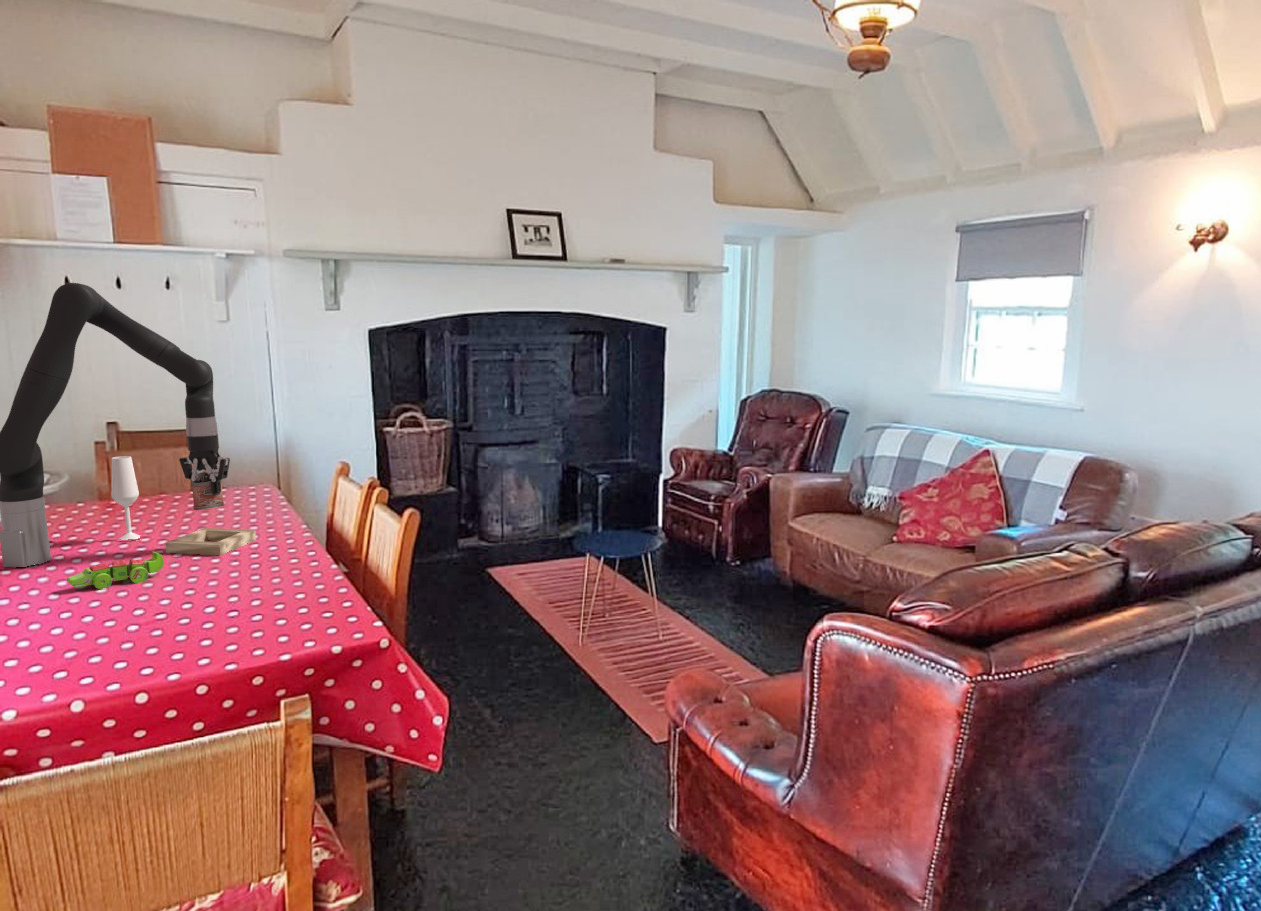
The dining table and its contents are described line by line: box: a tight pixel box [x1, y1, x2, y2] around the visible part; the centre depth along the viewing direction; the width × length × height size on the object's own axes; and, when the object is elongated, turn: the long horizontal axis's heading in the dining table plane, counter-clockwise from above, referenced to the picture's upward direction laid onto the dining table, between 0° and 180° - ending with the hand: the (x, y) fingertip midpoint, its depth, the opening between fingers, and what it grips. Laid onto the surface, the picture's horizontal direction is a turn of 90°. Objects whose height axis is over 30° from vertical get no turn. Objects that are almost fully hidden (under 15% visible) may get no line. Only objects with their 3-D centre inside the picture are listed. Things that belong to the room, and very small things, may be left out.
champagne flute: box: [110, 455, 141, 540], centre depth 227 cm, size 7×7×24 cm
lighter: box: [190, 471, 225, 511], centre depth 219 cm, size 8×3×10 cm, turn 143°
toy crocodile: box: [66, 551, 165, 590], centre depth 189 cm, size 20×7×6 cm, turn 130°
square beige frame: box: [165, 527, 257, 556], centre depth 221 cm, size 16×16×3 cm
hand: (207, 493), depth 219 cm, fingers closed on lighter, 4 cm apart
